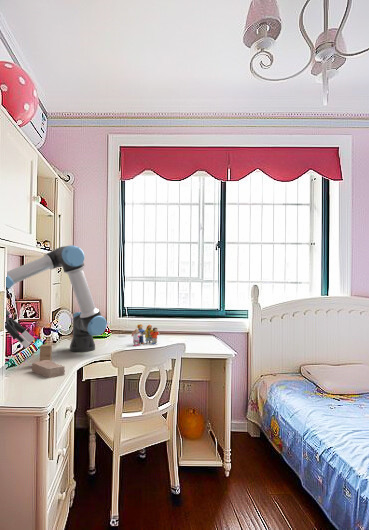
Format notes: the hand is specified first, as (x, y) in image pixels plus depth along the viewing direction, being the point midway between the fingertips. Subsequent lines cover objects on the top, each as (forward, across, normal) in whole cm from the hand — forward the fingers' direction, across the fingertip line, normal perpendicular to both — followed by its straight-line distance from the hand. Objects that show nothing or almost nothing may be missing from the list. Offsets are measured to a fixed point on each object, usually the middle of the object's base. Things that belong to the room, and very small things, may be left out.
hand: (30, 343), depth 186 cm
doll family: (+53, -51, +36) cm, 82 cm away
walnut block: (+13, 0, -3) cm, 13 cm away
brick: (+16, +15, -1) cm, 21 cm away
